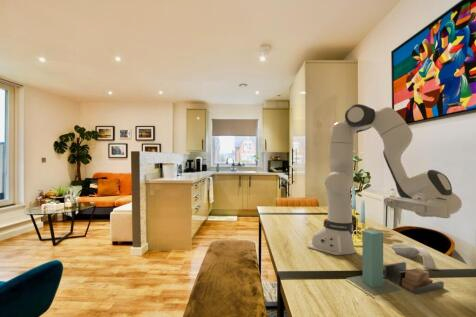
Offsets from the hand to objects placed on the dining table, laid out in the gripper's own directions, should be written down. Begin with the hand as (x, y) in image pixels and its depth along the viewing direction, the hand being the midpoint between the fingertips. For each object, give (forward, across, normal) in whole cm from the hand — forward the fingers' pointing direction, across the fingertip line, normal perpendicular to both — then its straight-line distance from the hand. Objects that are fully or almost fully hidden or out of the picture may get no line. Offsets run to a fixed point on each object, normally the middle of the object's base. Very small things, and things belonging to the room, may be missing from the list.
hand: (398, 206), depth 88 cm
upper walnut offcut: (-1, +6, +24) cm, 25 cm away
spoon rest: (-26, -13, +28) cm, 40 cm away
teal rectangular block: (+12, 0, +26) cm, 29 cm away
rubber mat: (+12, +1, +28) cm, 30 cm away
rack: (-2, +3, +27) cm, 28 cm away
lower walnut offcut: (-1, +7, +26) cm, 27 cm away
